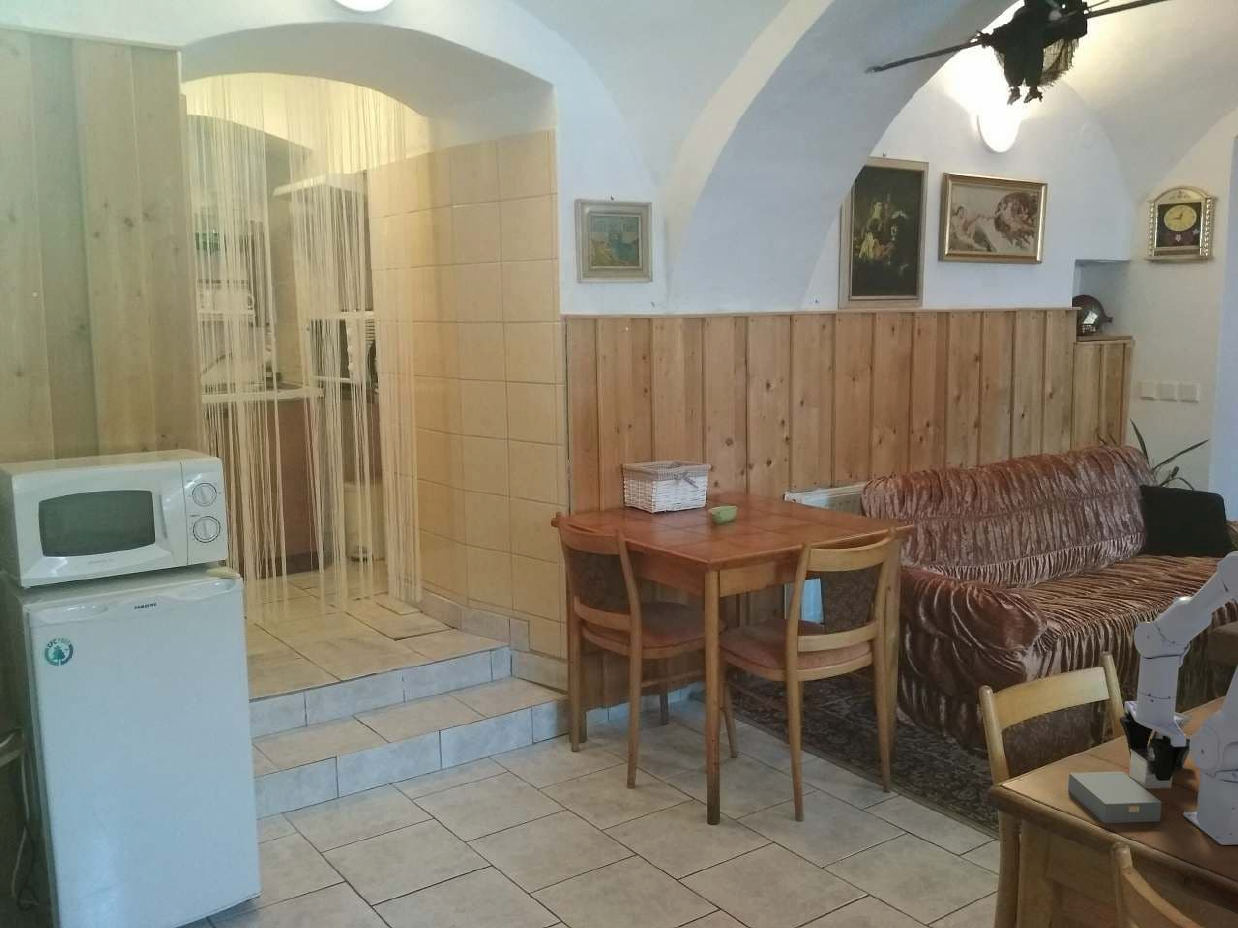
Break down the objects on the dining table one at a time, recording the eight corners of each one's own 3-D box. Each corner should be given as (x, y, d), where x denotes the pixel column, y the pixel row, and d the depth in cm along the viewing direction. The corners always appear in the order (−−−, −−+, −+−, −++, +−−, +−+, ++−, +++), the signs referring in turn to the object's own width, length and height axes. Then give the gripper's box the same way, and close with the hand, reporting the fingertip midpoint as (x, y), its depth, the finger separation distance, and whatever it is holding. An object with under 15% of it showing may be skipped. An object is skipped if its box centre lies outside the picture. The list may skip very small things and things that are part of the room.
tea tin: (1172, 788, 172) (1174, 759, 171) (1144, 788, 171) (1146, 760, 171) (1155, 775, 176) (1157, 747, 176) (1128, 776, 176) (1130, 748, 175)
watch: (1194, 740, 182) (1195, 706, 175) (1178, 777, 178) (1179, 744, 171) (1160, 727, 185) (1160, 693, 178) (1143, 763, 182) (1143, 730, 175)
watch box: (1160, 824, 160) (1162, 802, 160) (1105, 826, 159) (1106, 804, 159) (1120, 791, 171) (1121, 771, 171) (1067, 793, 171) (1069, 772, 170)
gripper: (1207, 708, 165) (1199, 788, 167) (1154, 676, 179) (1148, 750, 181) (1164, 709, 165) (1157, 789, 167) (1115, 677, 179) (1109, 751, 181)
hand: (1149, 769), depth 174 cm, fingers open, 7 cm apart
